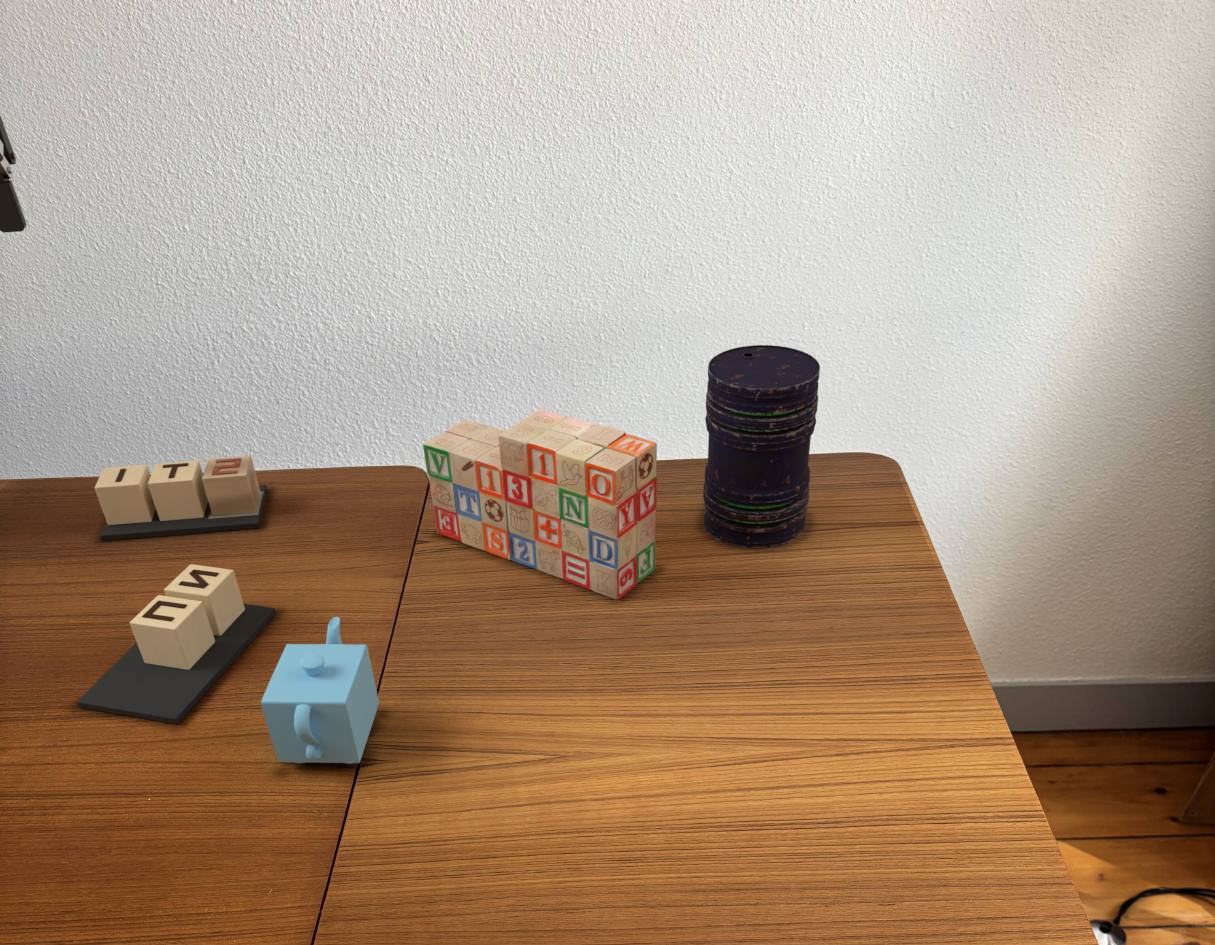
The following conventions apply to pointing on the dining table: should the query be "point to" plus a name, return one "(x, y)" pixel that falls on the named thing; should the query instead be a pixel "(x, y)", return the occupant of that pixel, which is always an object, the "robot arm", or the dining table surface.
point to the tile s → (231, 486)
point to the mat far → (163, 502)
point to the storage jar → (759, 444)
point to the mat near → (179, 647)
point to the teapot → (321, 701)
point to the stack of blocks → (550, 497)
